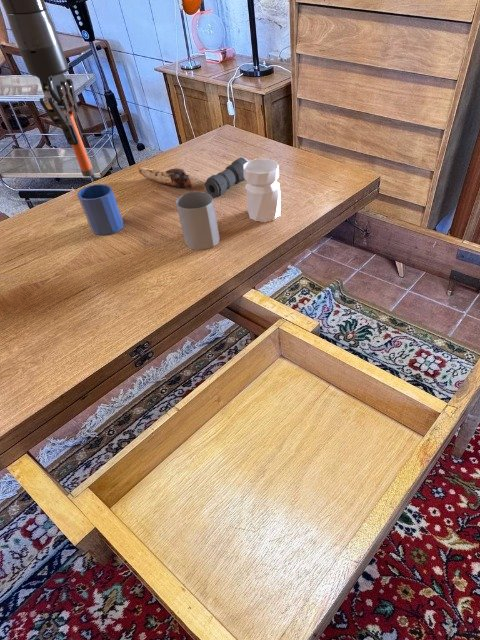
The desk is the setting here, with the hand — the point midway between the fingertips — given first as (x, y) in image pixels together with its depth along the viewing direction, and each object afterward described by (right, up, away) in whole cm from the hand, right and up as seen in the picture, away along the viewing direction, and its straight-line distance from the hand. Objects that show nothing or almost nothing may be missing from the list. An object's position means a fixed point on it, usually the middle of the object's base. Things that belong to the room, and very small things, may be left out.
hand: (75, 141), depth 96 cm
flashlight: (+29, +4, +29) cm, 41 cm away
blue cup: (0, -13, +16) cm, 20 cm away
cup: (+25, -18, +11) cm, 33 cm away
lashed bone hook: (+11, +7, +32) cm, 35 cm away
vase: (+40, -8, +19) cm, 45 cm away
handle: (0, -4, +5) cm, 7 cm away
